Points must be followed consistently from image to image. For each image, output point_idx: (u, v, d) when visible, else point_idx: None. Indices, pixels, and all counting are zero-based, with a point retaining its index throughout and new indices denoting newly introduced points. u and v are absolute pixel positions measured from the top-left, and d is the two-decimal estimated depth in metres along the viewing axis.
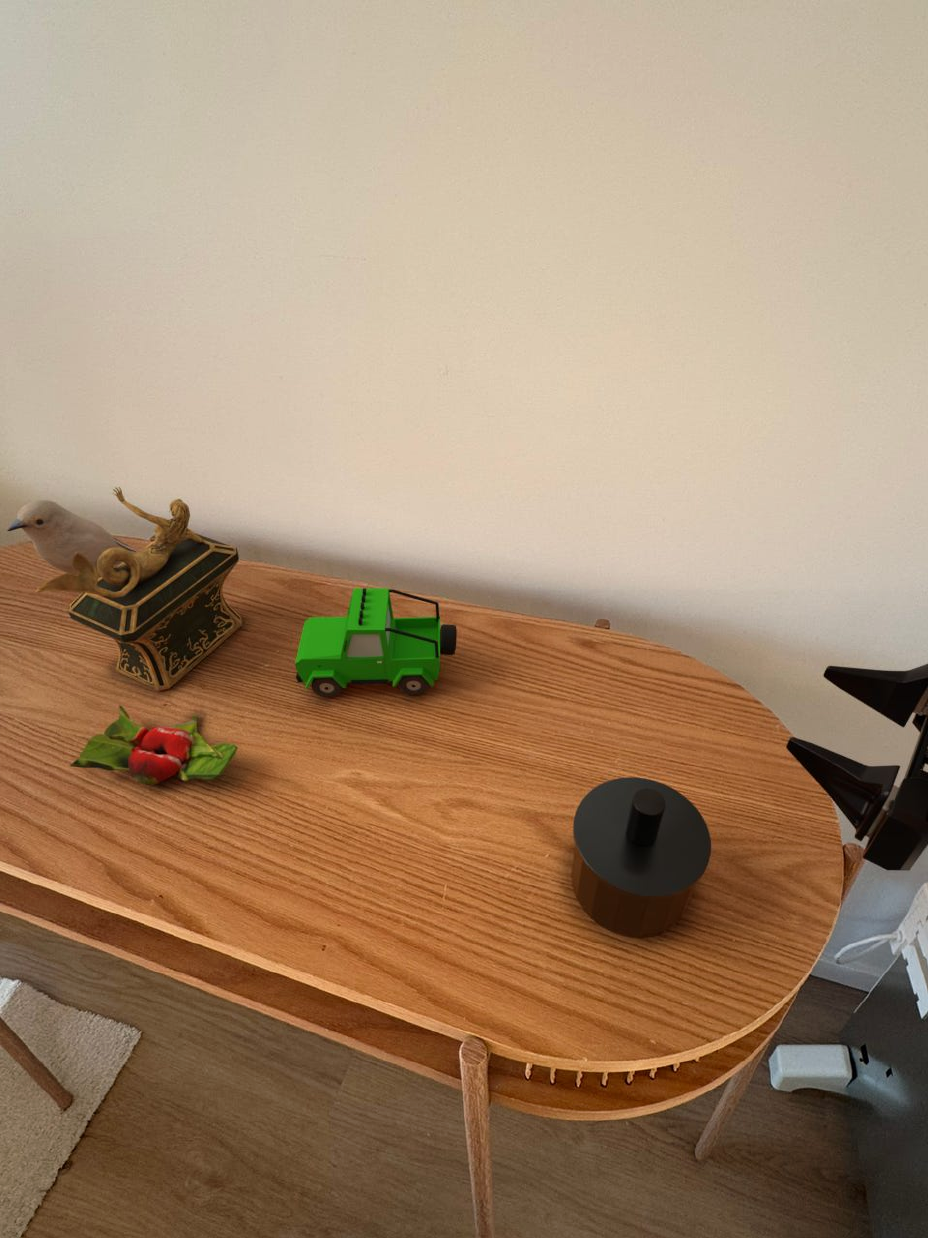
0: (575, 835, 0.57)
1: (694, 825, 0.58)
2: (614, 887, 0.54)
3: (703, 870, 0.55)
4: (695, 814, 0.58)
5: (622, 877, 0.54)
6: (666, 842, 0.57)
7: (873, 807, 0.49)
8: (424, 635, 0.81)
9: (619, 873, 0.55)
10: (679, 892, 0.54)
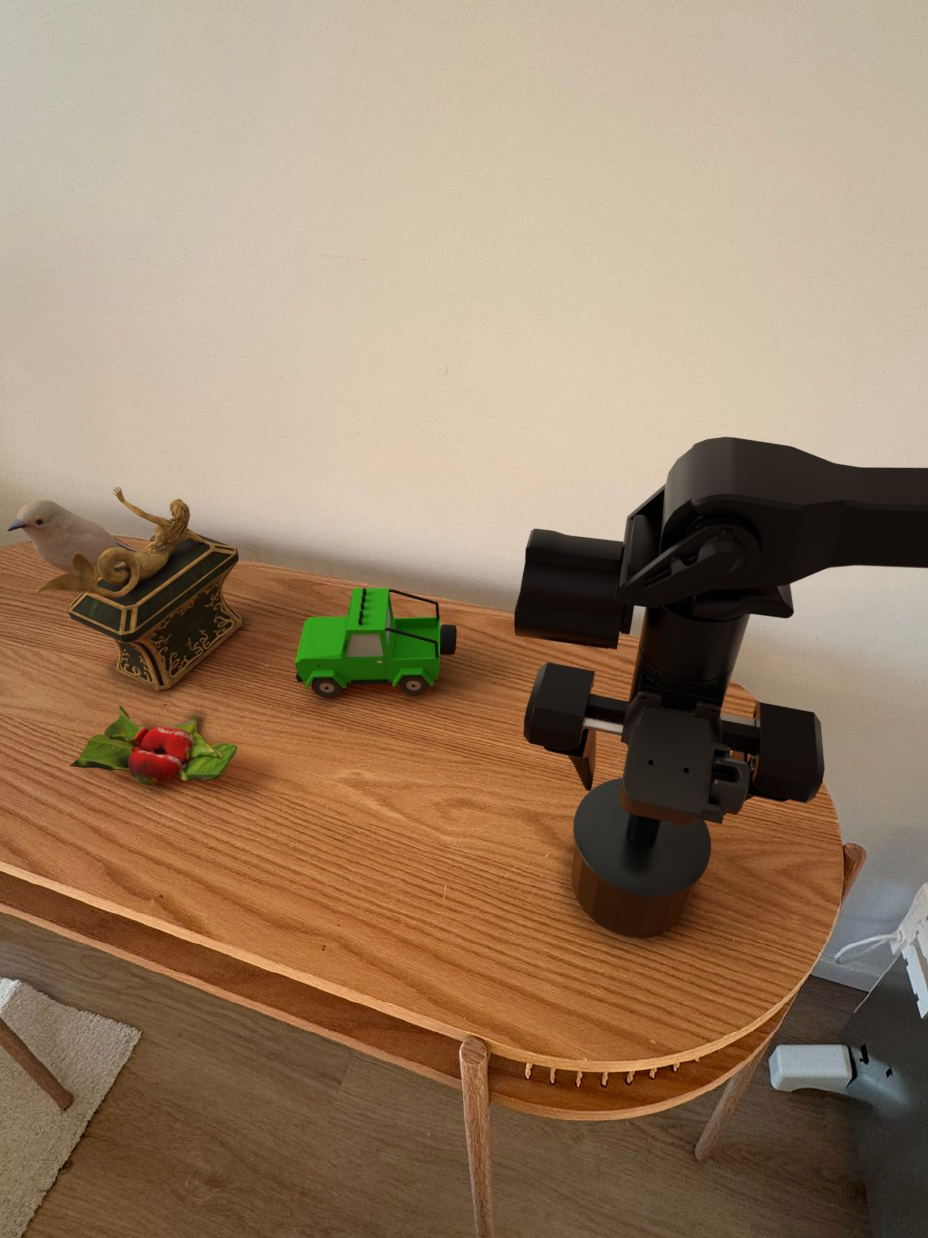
0: (575, 835, 0.57)
1: (694, 825, 0.58)
2: (614, 887, 0.54)
3: (703, 870, 0.55)
4: None
5: (622, 877, 0.54)
6: (666, 842, 0.57)
7: None
8: (424, 635, 0.81)
9: (619, 873, 0.55)
10: (679, 892, 0.54)
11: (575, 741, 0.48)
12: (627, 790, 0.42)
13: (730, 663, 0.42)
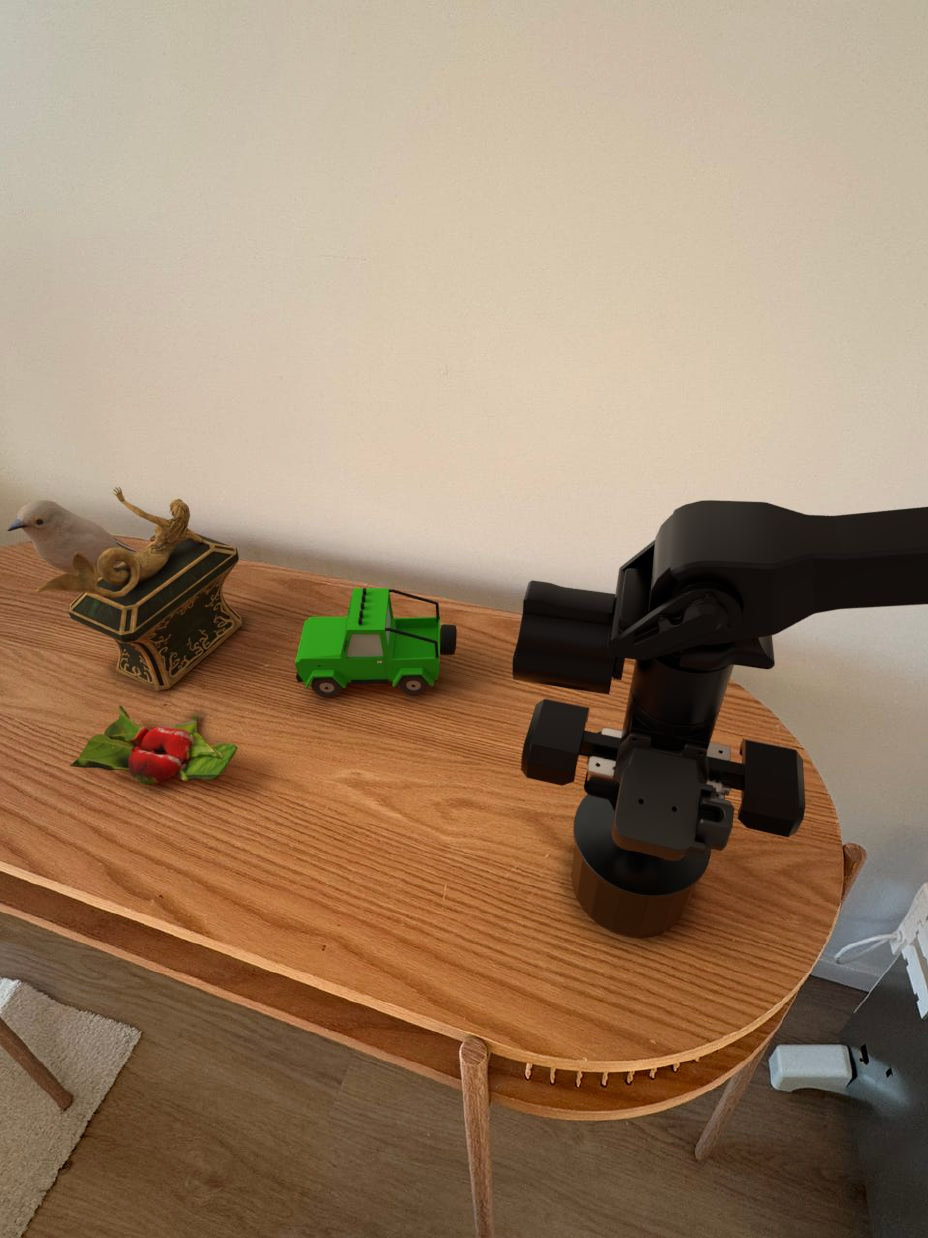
0: (575, 835, 0.57)
1: None
2: (614, 887, 0.54)
3: (703, 870, 0.55)
4: None
5: (622, 877, 0.54)
6: None
7: None
8: (424, 635, 0.81)
9: (619, 873, 0.55)
10: (679, 892, 0.54)
11: (570, 776, 0.50)
12: (618, 828, 0.44)
13: (716, 708, 0.44)
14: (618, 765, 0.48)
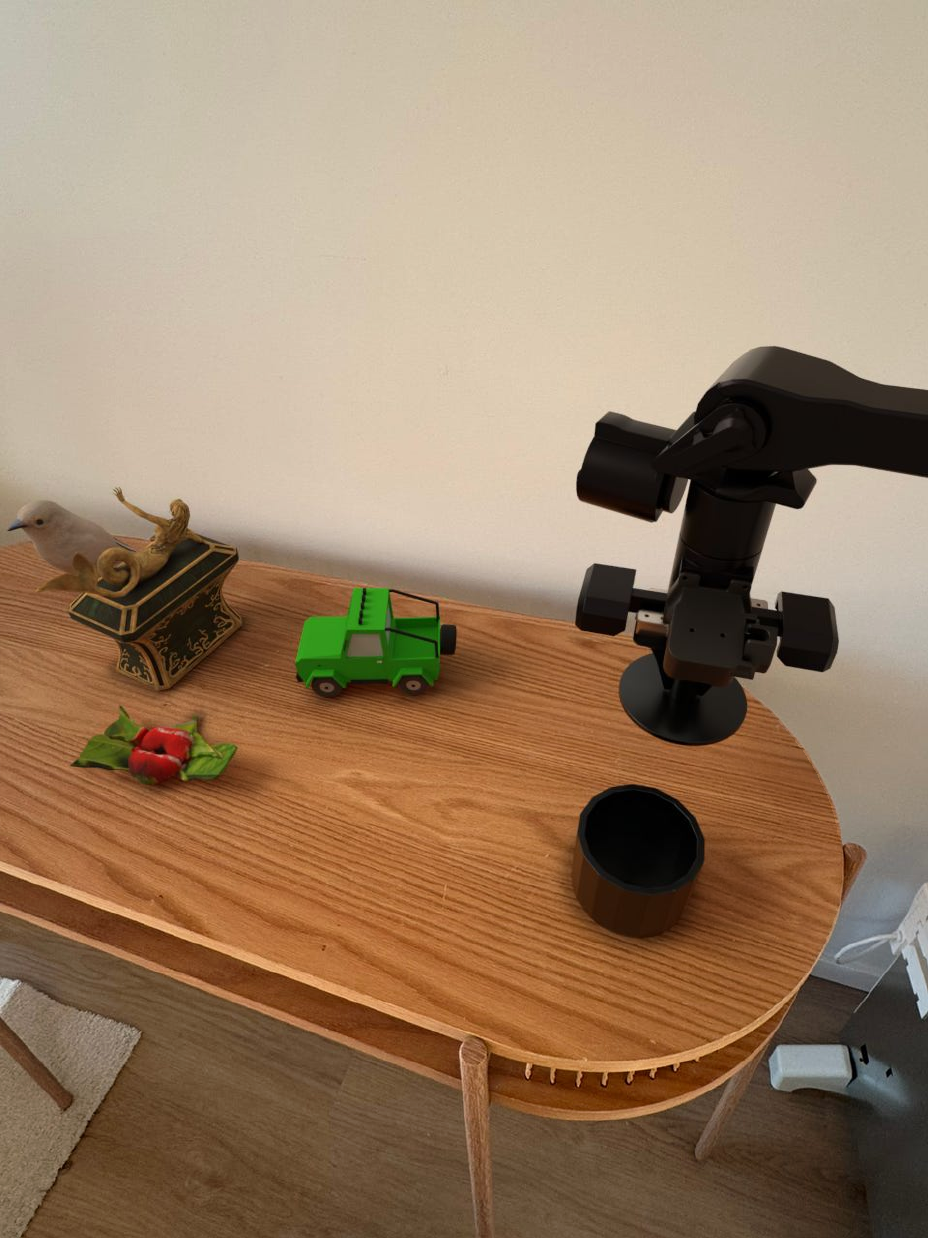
0: (621, 696, 0.62)
1: (731, 687, 0.62)
2: (660, 736, 0.59)
3: (741, 722, 0.59)
4: None
5: (667, 728, 0.59)
6: (705, 700, 0.61)
7: None
8: (424, 635, 0.81)
9: (663, 725, 0.59)
10: (720, 739, 0.58)
11: (622, 625, 0.55)
12: (672, 652, 0.49)
13: (749, 549, 0.49)
14: (668, 607, 0.52)
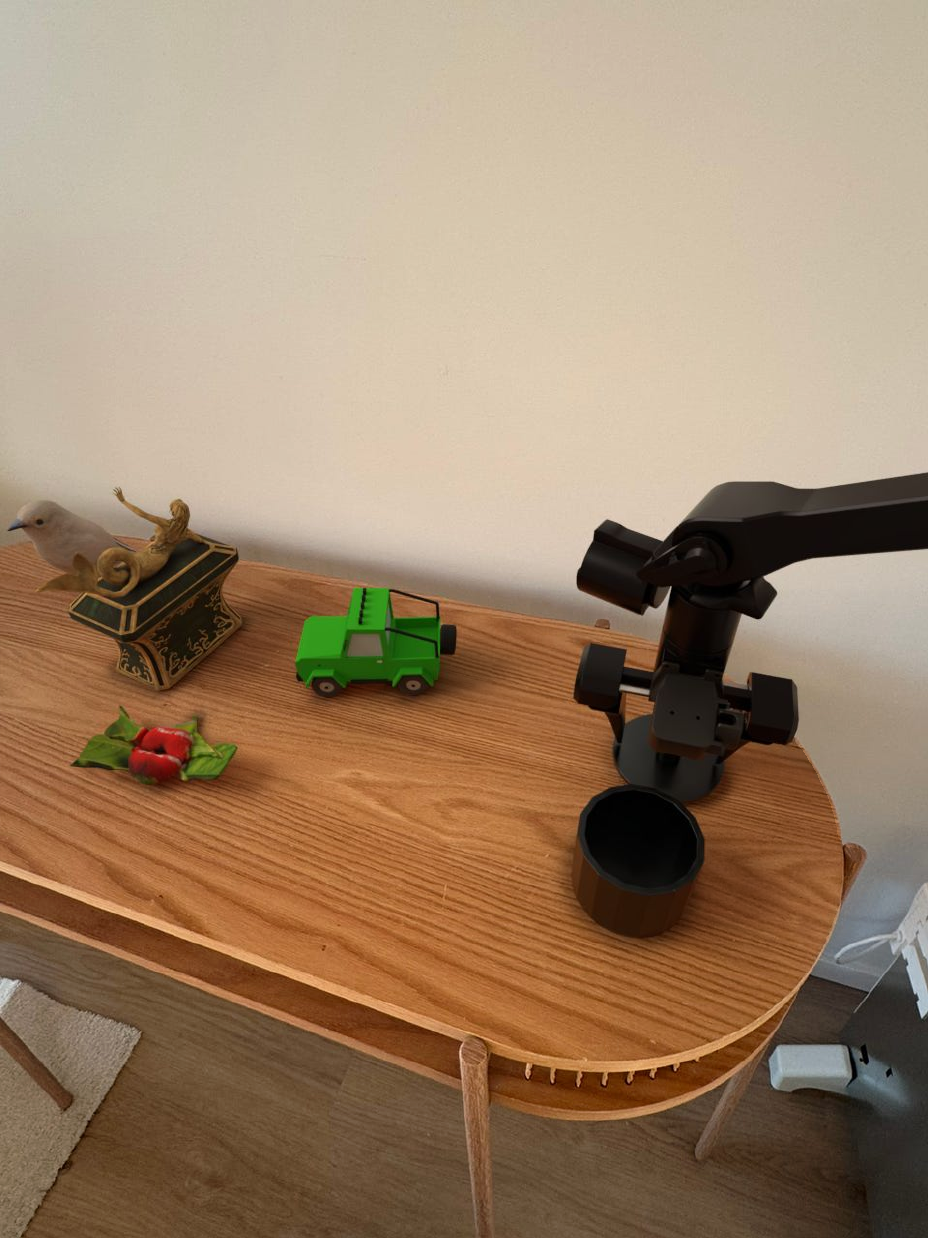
0: (614, 757, 0.71)
1: None
2: None
3: (718, 782, 0.68)
4: None
5: (653, 787, 0.68)
6: (688, 762, 0.70)
7: None
8: (424, 635, 0.81)
9: (651, 784, 0.68)
10: (699, 798, 0.67)
11: (613, 701, 0.64)
12: (655, 732, 0.58)
13: (719, 645, 0.58)
14: (653, 688, 0.61)
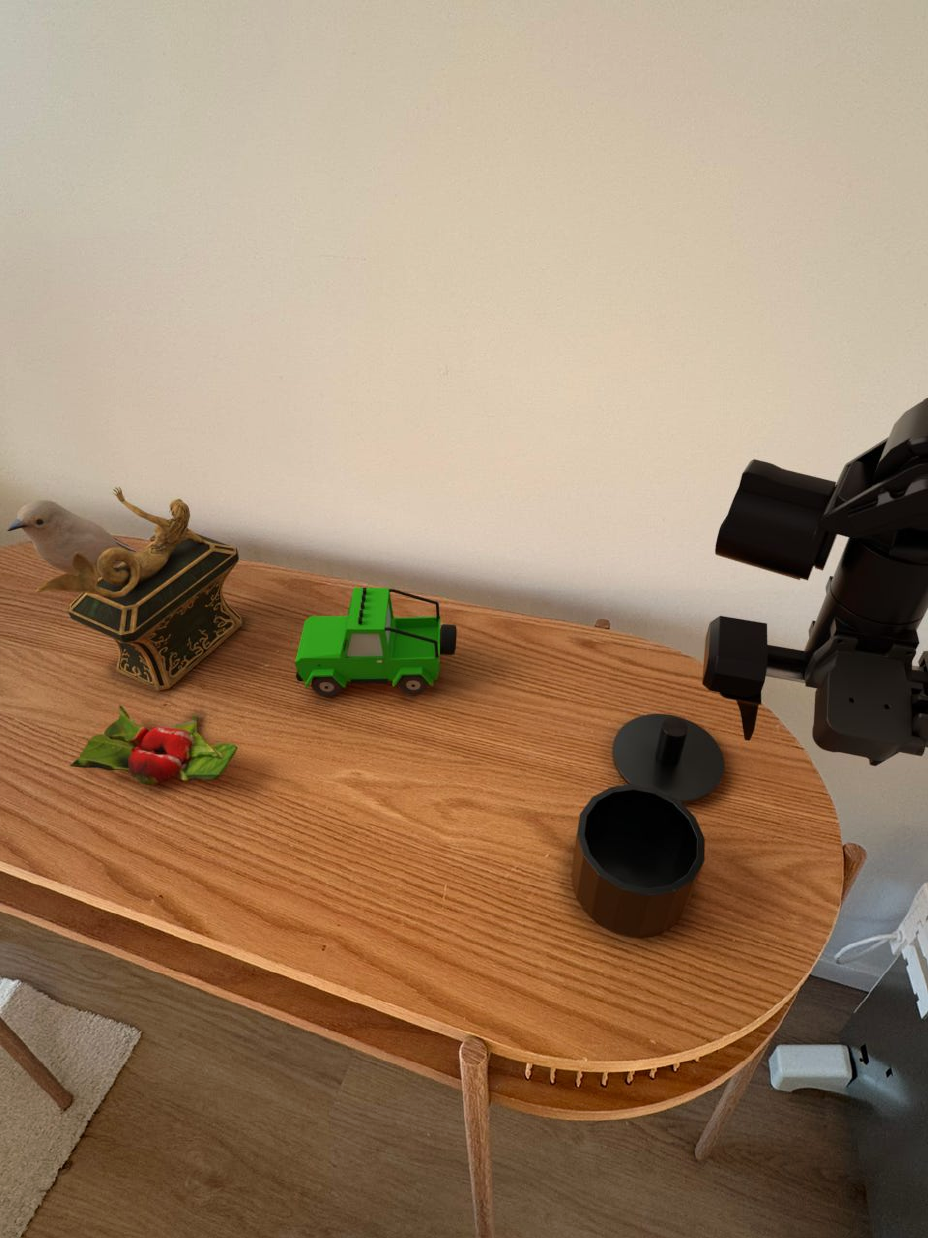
0: (614, 757, 0.71)
1: (711, 749, 0.71)
2: None
3: (718, 782, 0.68)
4: (711, 741, 0.72)
5: (653, 787, 0.68)
6: (688, 762, 0.70)
7: None
8: (424, 635, 0.81)
9: (651, 784, 0.68)
10: (699, 798, 0.67)
11: (758, 687, 0.51)
12: (832, 725, 0.45)
13: (918, 612, 0.45)
14: (816, 670, 0.48)
